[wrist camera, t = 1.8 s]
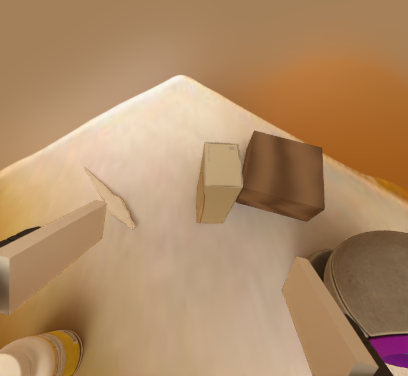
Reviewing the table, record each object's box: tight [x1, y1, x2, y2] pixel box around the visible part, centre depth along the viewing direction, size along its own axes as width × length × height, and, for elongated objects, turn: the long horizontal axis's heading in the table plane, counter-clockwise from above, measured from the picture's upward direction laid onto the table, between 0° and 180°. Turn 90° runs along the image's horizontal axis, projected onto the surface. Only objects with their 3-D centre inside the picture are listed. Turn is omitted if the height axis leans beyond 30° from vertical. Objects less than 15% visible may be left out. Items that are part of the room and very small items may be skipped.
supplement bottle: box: [0, 329, 83, 376], centre depth 19 cm, size 5×5×10 cm
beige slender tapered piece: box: [84, 168, 136, 229], centre depth 33 cm, size 15×3×2 cm, turn 44°
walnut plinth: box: [236, 131, 325, 221], centre depth 36 cm, size 12×12×5 cm
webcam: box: [306, 231, 408, 368], centre depth 23 cm, size 13×13×15 cm
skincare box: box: [197, 142, 243, 224], centre depth 29 cm, size 6×4×12 cm
